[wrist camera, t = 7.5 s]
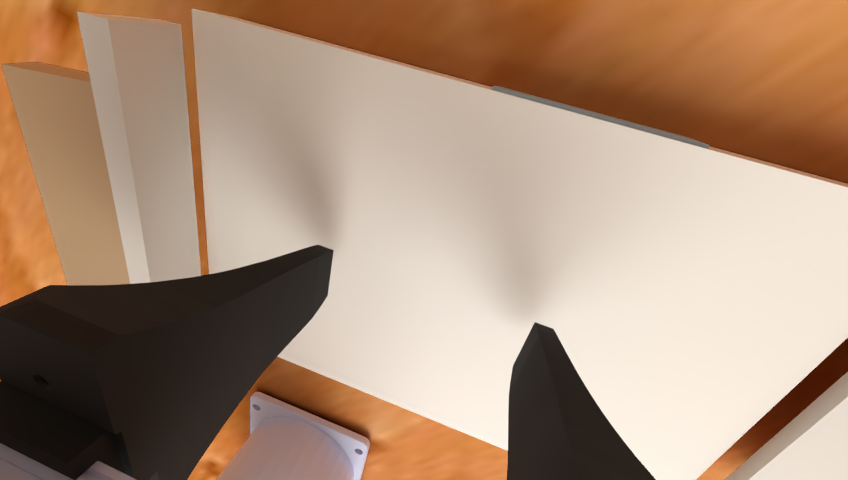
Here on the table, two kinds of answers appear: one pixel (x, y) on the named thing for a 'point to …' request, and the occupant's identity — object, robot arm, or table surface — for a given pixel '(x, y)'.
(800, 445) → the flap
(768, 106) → the table surface
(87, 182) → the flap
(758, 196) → the carton
